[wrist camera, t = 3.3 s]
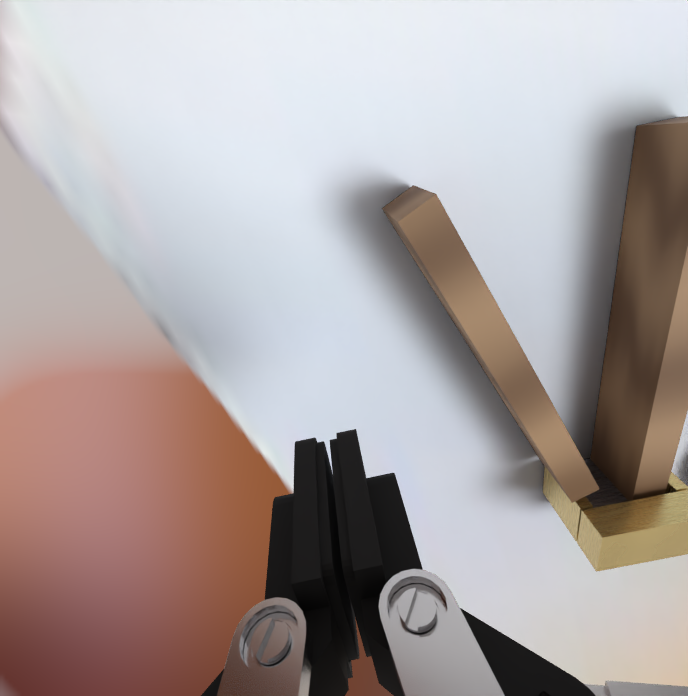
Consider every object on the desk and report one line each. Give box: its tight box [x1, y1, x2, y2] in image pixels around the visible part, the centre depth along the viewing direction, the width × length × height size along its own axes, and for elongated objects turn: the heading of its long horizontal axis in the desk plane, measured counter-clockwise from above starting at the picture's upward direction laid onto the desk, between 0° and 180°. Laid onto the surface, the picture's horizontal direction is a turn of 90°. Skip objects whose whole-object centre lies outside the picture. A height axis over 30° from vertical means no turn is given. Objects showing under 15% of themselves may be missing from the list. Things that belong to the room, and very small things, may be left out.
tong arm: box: [382, 186, 599, 503], centre depth 17 cm, size 16×1×3 cm, turn 35°
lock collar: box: [543, 467, 688, 571], centre depth 20 cm, size 2×5×5 cm, turn 100°
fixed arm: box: [590, 116, 688, 501], centre depth 18 cm, size 18×2×3 cm, turn 10°
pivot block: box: [584, 459, 628, 508], centre depth 22 cm, size 3×3×3 cm
